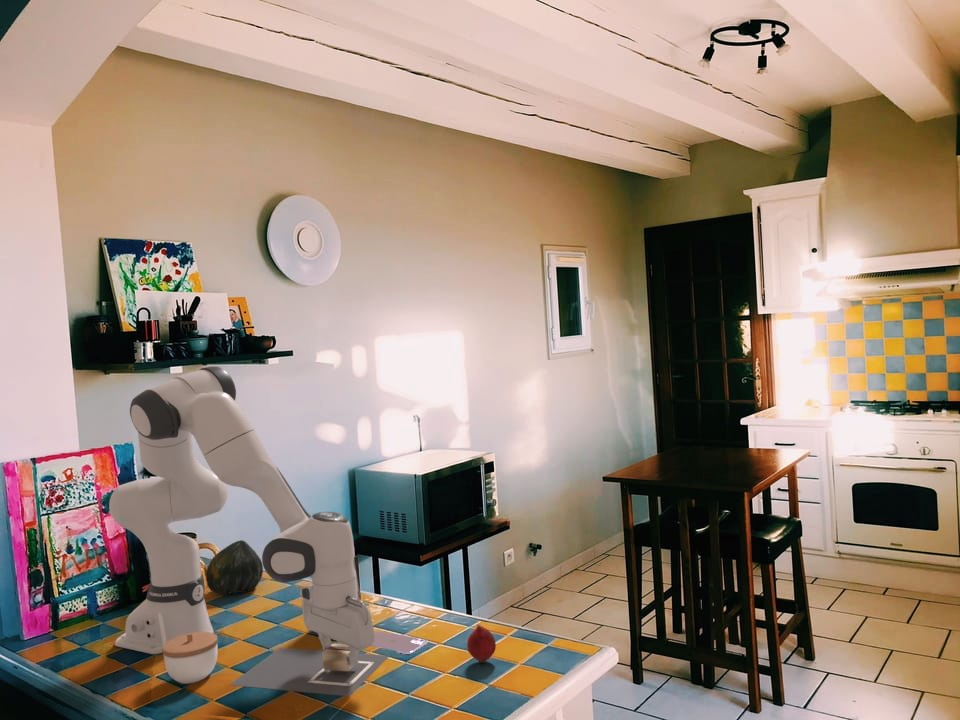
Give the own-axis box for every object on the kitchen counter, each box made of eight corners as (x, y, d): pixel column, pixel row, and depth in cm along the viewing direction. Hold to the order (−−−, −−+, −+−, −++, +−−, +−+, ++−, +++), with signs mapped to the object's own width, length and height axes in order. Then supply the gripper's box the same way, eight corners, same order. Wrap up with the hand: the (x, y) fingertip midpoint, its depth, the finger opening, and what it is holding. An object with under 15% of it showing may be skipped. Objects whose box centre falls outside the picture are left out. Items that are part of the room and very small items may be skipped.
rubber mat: (229, 686, 151) (229, 684, 151) (280, 649, 168) (280, 647, 168) (349, 698, 142) (349, 695, 142) (389, 657, 160) (389, 655, 160)
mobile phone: (376, 629, 174) (429, 638, 166) (376, 633, 174) (430, 643, 166) (355, 642, 168) (409, 652, 160) (355, 646, 168) (409, 657, 160)
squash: (192, 573, 212) (209, 538, 206) (239, 561, 224) (256, 527, 217) (213, 614, 206) (232, 579, 199) (261, 599, 217) (280, 565, 210)
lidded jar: (189, 694, 149) (185, 647, 149) (154, 685, 154) (150, 640, 154) (231, 671, 158) (227, 627, 158) (196, 663, 164) (193, 621, 163)
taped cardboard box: (323, 669, 152) (322, 651, 152) (334, 660, 156) (332, 642, 156) (348, 671, 150) (347, 653, 150) (358, 661, 154) (356, 643, 154)
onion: (500, 657, 156) (497, 619, 156) (491, 669, 150) (489, 630, 150) (474, 655, 158) (471, 617, 157) (464, 667, 152) (461, 628, 152)
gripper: (379, 597, 147) (384, 667, 148) (320, 579, 162) (325, 642, 162) (353, 607, 143) (358, 679, 143) (295, 587, 157) (300, 652, 158)
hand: (340, 659), depth 153 cm, fingers closed on taped cardboard box, 7 cm apart
